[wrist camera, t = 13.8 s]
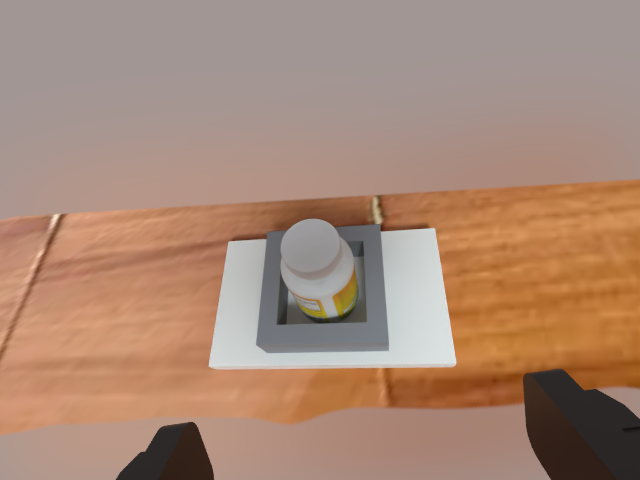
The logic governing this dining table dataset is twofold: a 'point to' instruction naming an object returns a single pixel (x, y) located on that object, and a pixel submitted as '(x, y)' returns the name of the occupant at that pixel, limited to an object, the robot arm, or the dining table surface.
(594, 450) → the robot arm
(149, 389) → the dining table surface
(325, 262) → the supplement bottle
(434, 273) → the collar board
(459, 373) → the dining table surface
